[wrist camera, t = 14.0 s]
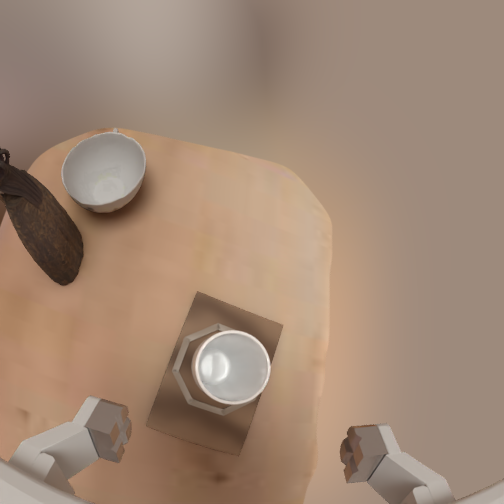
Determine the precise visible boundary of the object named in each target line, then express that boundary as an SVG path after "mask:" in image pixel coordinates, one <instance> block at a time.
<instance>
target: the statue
mask: <svg viewBox="0 0 504 504" xmlns="http://www.w3.org/2000/svg"><path fill="white" fill-rule="evenodd" d="M2 154H5V156H6V160H5V161H4V157H3V155H2ZM9 155H10V154H9V151H8V150H6V149H1V148H0V200H1V201H2V202H3V203H4V204H5V205H6V208H7V211H8V214H9V217H10V219H11V221H12V223H13V226H14V228H15V230H16V231H17V234H18V236H19V238H20V240H21V241H22V243H23V245H24V246H25V248H26V249H27V251H28V252H29V254H30V255H31V256H32V258H33V259H34V261H35V262H36V263H37V264H38V265H39V266H40V267H41V269H43V270H44V272H45V273H46V274H47V275H48V276H49V277H50V278H51V279H52V280H53V281H55V282H57V283H59V284H60V285H67V284H68V283H70V282H72V281H73V280H74V278H75V276H76V275H77V274H78V269H79V266H80V263H81V259H82V257H83V250H82V249H83V243H82V241H81V234H80V232H79V231H78V229H77V227H76V225H75V224H74V222H73V221H72V219H71V218H70V217H69V215H68V214H67V212H66V211H65V209H64V208H63V207H62V206H61V205H60V204H59V203H58V201H57V200H56V198H55V197H54V196H53V195H52V194H51V193H50V191H49V190H48V189H47V188H46V187H45V186H44V185H42V184H41V183H40V182H39V181H38V180H37V179H36V178H34V177H33V176H31V175H30V174H28V173H27V172H26V171H25V170H19V169H17V168H15V167H14V166H11V165H9V158H10V156H9ZM3 193H4V194H3Z"/></svg>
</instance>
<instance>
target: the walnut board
mask: <svg viewBox="0 0 504 504" xmlns="http://www.w3.org/2000/svg"><path fill="white" fill-rule="evenodd" d="M282 328H283V325H282V324H279V323H276V322H274V321H271V320H268V319H266V318H263V317H261V316H258V315H255V314H253V313H250V312H248V311H245V310H243V309H240V308H238V307H235V306H232V305H230V304H228V303H225V302H223V301H220V300H218V299H215V298H213V297H210V296H208V295H205V294H203V293H201V292H198V291H197V293H196V296H195V298H194V301H193V303H192V306H191V308H190V311H189V313H188V316H187V318H186V321H185V323H184V326H183V328H182V331H181V333H180V336H179V339H178V341H177V344H176V346H175V349H174V351H173V354H172V357H171V359H170V362H169V364H168V367H167V370H166V372H165V375H164V378H163V380H162V383H161V386H160V388H159V391H158V394H157V396H156V399H155V402H154V405H153V407H152V410H151V413H150V416H149V418H148V421H147V424H146V426H147V427H149V428H152V429H155V430H157V431H160V432H162V433H165V434H168V435H171V436H173V437H176V438H179V439H182V440H185V441H188V442H191V443H194V444H197V445H201V446H204V447H207V448H210V449H214V450H217V451H221V452H225V453H229V454H232V455H236V456H239V455H240V452H241V449H242V446H243V444H244V441H245V438H246V436H247V433H248V430H249V427H250V424H251V422H252V419H253V416H254V413H255V410H256V407H257V405H258V402H259V399H260V396H261V393H262V392H261V393H260V394H259V395H258V396H257V397H255V398H254V399H252V400H250V401H248V402H246V403H242V404H237V405H229V404H224V403H220V402H218V401H216V400H213V399H211V398H210V397H208V396H207V395H205V394H204V393H203V392H202V391H201V390H200V389H199V388H198V386H197V385H196V383H195V381H194V379H193V376H192V372H191V361H192V357H193V354H194V352H195V350H196V349H197V347H198V346H199V345H200V344H201V343H202V342H203V341H204V340H205V339H207V338H208V337H210V336H212V335H214V334H216V333H219V332H222V331H228V330H237V331H242V332H245V333H248V334H250V335H252V336H253V337H255V338H256V339H257V340H259V341H260V342H261V344H262V345H263V346H264V348H265V349H266V351H267V353H268V356H269V359H270V366H271V363H272V360H273V357H274V353H275V350H276V347H277V344H278V341H279V338H280V334H281V331H282Z"/></svg>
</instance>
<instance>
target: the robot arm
mask: <svg viewBox="0 0 504 504" xmlns="http://www.w3.org/2000/svg"><path fill="white" fill-rule="evenodd" d="M128 413H129V411H128V407H127V406H125V405H122V404H118V403H115V402H111V401H108V400H105V399H101V398H98V397H94V396H91V395H90V396H89V397H87V399H86V400H85V402H84V403H83V405H82V406H81V408H80V410H79V411H78V413H77V414H76V416H75V418H74V419H73V421H72V422H69V421H68V422H66V423H63V424H61V425H59V426H57V427H54V428H52V429H50V430H48V431H45V432H43V433H40V434H38V435H36V436H33V437H31V438H28V439H26V440H24V441H22V442H21V444H20V445H19V447H18V448H17V450H16V451H15V453H14V454H13V456H12V457H11V459H10V460H9V462H7V461H5V460H4V459H2V458H0V504H95V503H92V502H89V501H87V500H84V499H82V498H79V497H77V496H74V494H75V492H74V489H73V488H72V486H71V485H70V483H69V482H68V479H69V478H71V477H72V476H74V475H76V474H77V473H79V472H80V471H82V470H83V469H84V468H86V467H87V466H89V465H90V464H92V463H93V462H95V461H96V460H98V459H99V457H100V458H103V459H106V460H110V461H113V462H117V463H120V461H121V459H122V456H123V454H124V451H125V450H124V446H123V445H124V444H126V443H128V441H129V439H130V436H131V430H132V427H131V420H130V419H129V418H128V417H127V416H128ZM347 435H348V437H347V438H345V439H344V440H343V442H342V444H341V448H340V457H341V462H342V463H344V464H345V465H346V467H345V469H344V474H345V478H346V482H347V483H355V482H365V481H367V483H368V484H369V485H370V486H372V488H373V489H374V490H375V491H376V492H377V493H379V494H380V495H381V496H382V497H383V498H384V499H385V500H386V501H387V502H388V503H389V504H504V479H502V480H500V481H498V482H496V483H494V484H493V485H490V486H488V487H486V488H484V489H482V490H479V491H477V492H475V493H473V494H470V495H468V496H466V497H463V498H461V499H458V500H455V498H454V496H453V494H452V492H451V490H450V488H449V485H448V483H447V481H446V479H445V478H444V477H442V476H440V475H439V474H437V473H436V472H434V471H433V470H431V469H430V468H428V467H426V466H424V465H423V464H422V463H420V462H419V461H417V460H416V459H414V458H412V457H411V456H410V455H408V454H407V453H405V452H401V451H400V448H399V446H398V444H397V442H396V439H395V437H394V435H393V433H392V431H391V428H390V426H389V425H388V424H387V423H386V424H375V425H374V424H373V425H362V426H351V427H350V428H349V429H348V431H347Z"/></svg>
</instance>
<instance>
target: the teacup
mask: <svg viewBox="0 0 504 504" xmlns="http://www.w3.org/2000/svg"><path fill="white" fill-rule="evenodd" d="M145 170H146V157H145V153H144V151H143V149H142V147H141V145H140V144H139V143H138V142H136V141H135V140H134V139H133V138H129V137H127V136H126V135H124V134H121V133H119V132H118V129H117V128H114V130H113V132H106V133H102V134H98V135H97V134H96V135H94V136H92V137H90V138H88V139H85V140H82V141H81V142H79V143H78V144H77V145H76V147H73V148H72V149H71V151H70V152H69V153H68V155H67V157H66V159H65V161H64V163H63V166H62V172H61V176H62V182H63V185H64V187H65V189H66V191H67V192H68V194H69V195H70V196H71V198H72V199H73V200H74V201H75V202H76V203H77V204H79V205H80V206H81V207H83V208H85V209H87V210H89V211H92V212H96V213H108V212H113V211H116V210H118V209H120V208H122V207H123V206H125V205H126V204H127V203H129V202H130V201H131V200H132V199H133V198H134V196H135V195H136V193H137V192H138V190H139V188H140V186H141V184H142V181H143V178H144V175H145Z"/></svg>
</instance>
